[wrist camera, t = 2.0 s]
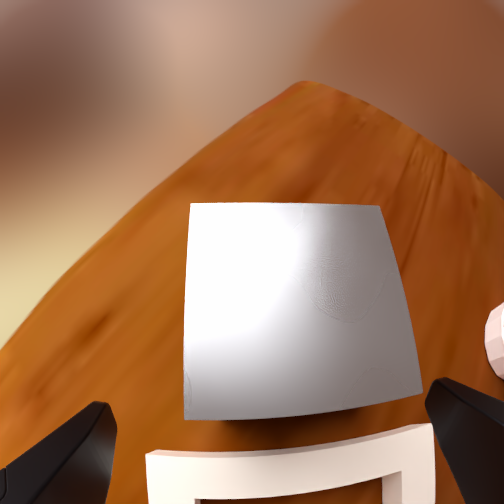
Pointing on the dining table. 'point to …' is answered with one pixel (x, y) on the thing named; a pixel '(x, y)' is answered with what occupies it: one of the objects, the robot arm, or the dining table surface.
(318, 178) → the dining table surface
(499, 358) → the white cup
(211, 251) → the grey block
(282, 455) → the block
